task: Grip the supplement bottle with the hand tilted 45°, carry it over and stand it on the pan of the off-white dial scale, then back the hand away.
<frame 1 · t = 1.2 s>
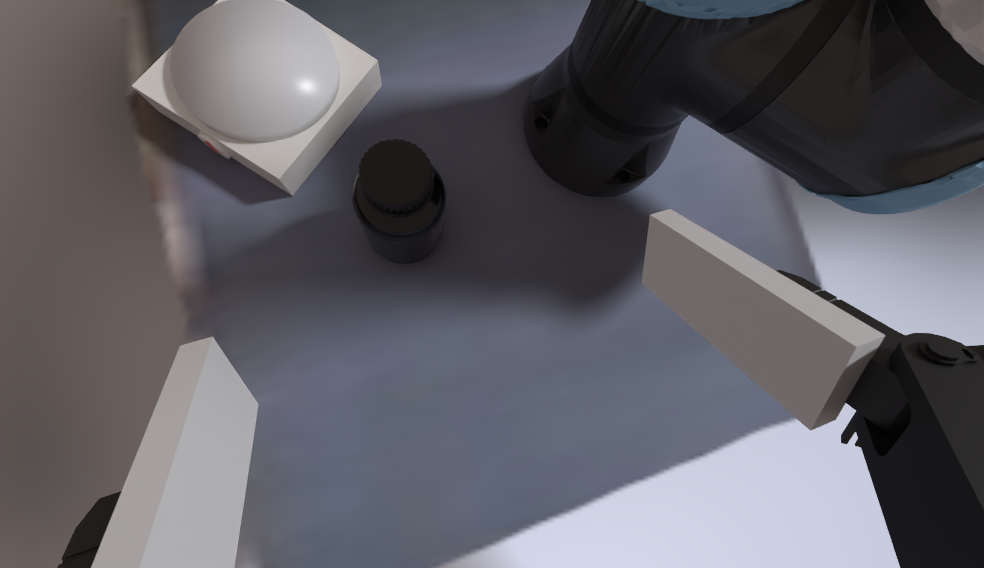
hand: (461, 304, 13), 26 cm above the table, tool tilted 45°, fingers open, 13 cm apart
dial scale: (275, 98, 40), on the table
supplement bottle: (405, 230, 39), on the table
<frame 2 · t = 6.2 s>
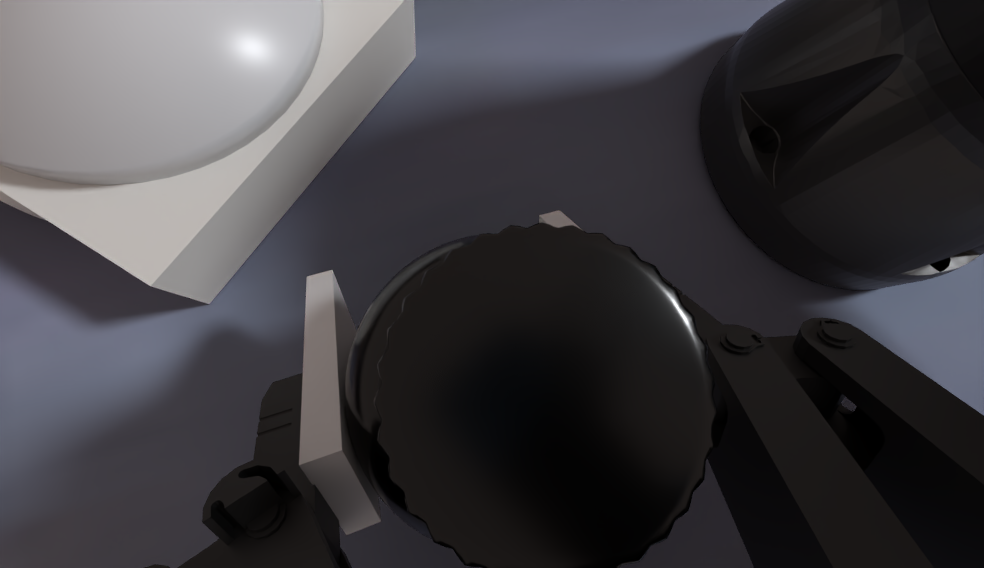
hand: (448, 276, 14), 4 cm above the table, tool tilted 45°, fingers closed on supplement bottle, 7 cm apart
dial scale: (182, 77, 18), on the table
supplement bottle: (468, 376, 17), on the table, touching gripper
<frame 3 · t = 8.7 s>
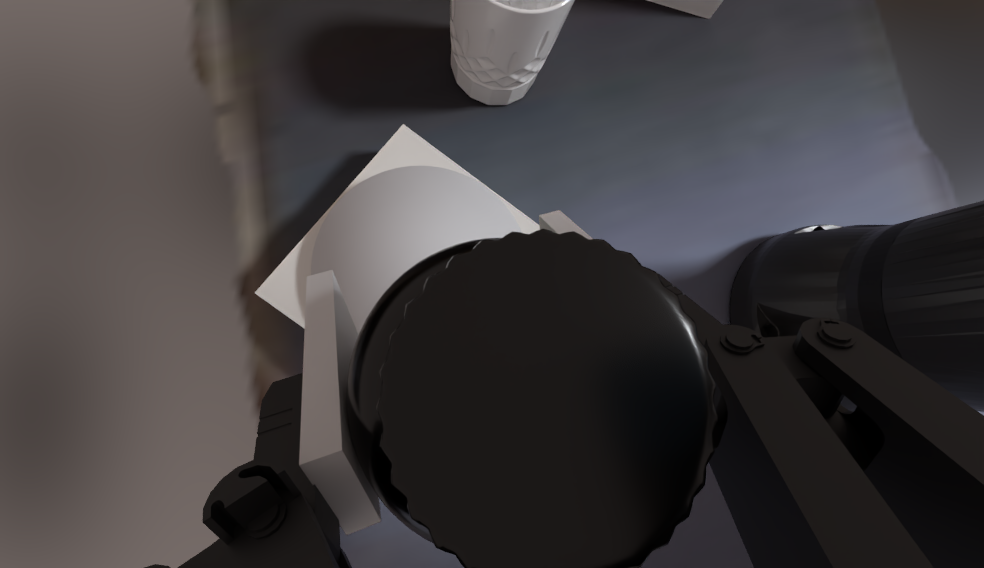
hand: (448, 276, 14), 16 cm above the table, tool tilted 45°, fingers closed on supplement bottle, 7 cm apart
dial scale: (424, 280, 30), on the table
supplement bottle: (468, 379, 17), point 12 cm above the table, touching gripper
white cup: (492, 69, 34), on the table
when the fingers open (10 cm above the table, at t = 11.0 s): supplement bottle stays where it is, point 6 cm above the table.
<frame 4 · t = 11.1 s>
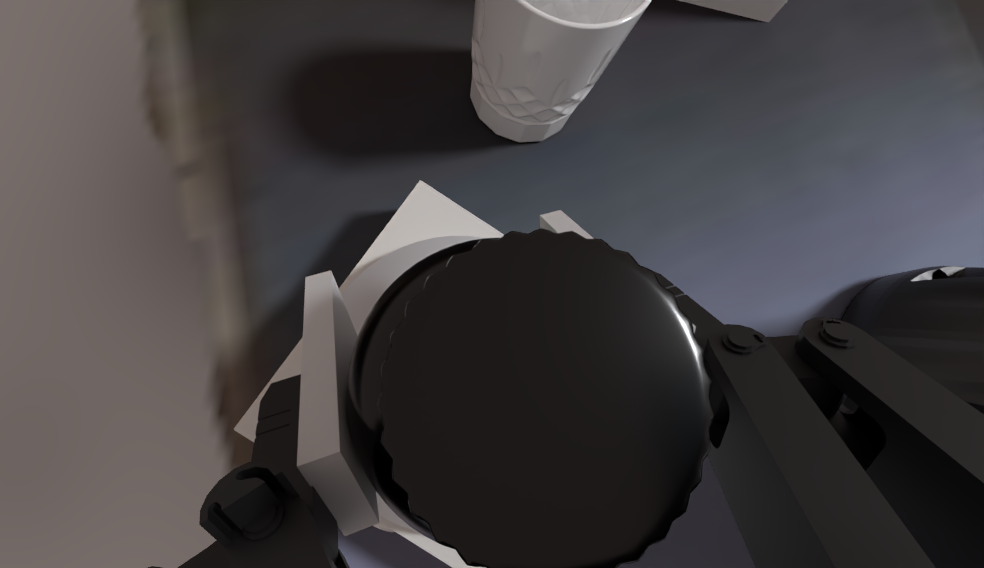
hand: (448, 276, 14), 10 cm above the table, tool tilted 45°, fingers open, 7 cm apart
dial scale: (456, 374, 23), on the table
supplement bottle: (467, 378, 18), point 6 cm above the table
white cup: (520, 98, 28), on the table
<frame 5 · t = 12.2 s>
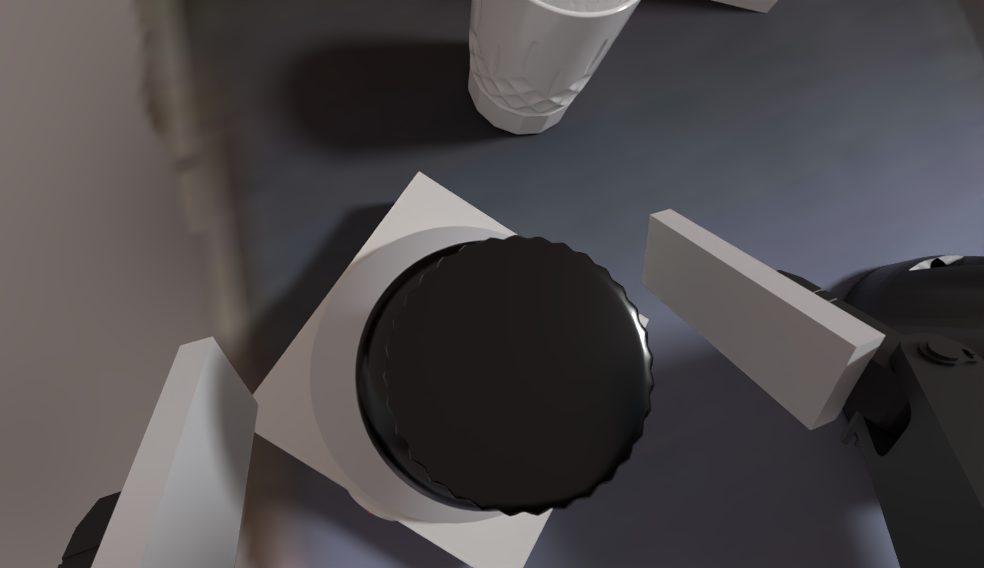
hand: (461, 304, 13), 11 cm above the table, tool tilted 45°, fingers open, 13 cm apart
dial scale: (455, 365, 23), on the table
supplement bottle: (462, 368, 19), point 4 cm above the table, touching dial scale
white cup: (518, 90, 28), on the table
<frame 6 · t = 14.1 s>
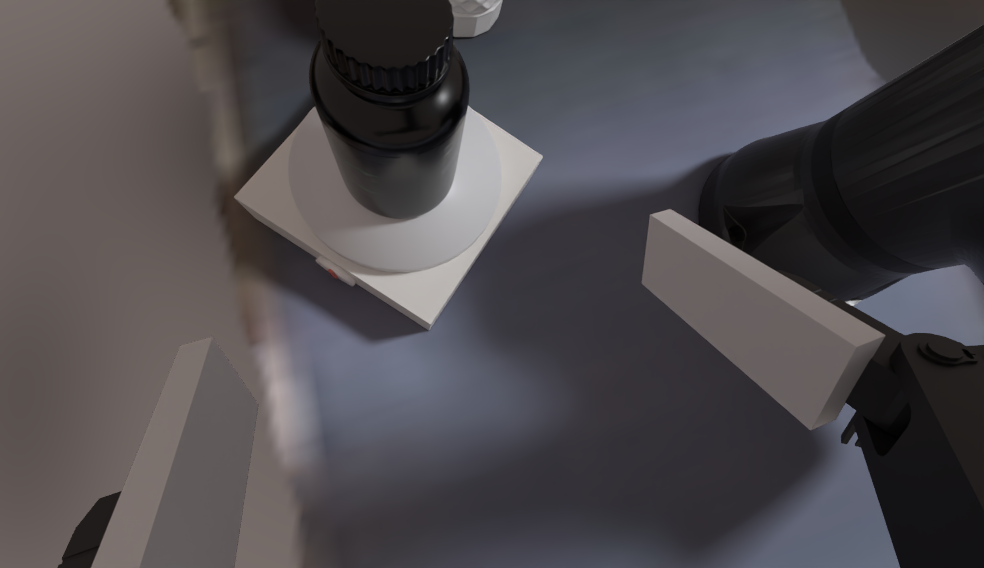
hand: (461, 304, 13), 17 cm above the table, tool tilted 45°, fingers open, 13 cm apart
dial scale: (402, 197, 31), on the table
supplement bottle: (399, 171, 26), point 4 cm above the table, touching dial scale
white cup: (458, 6, 35), on the table
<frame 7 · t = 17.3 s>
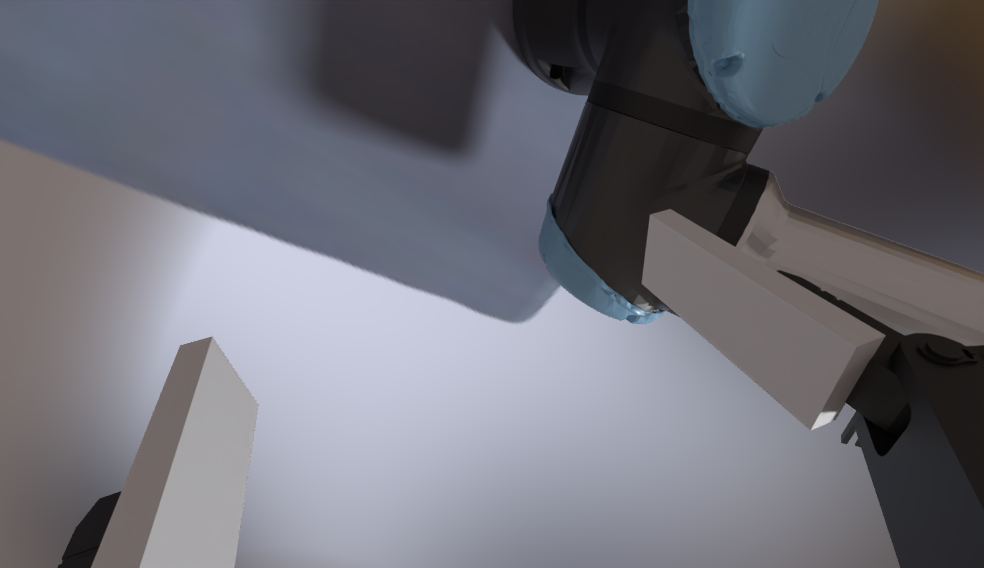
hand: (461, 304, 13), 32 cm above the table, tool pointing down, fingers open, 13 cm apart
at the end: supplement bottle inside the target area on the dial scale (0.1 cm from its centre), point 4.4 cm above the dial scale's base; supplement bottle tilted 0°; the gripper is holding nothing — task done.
